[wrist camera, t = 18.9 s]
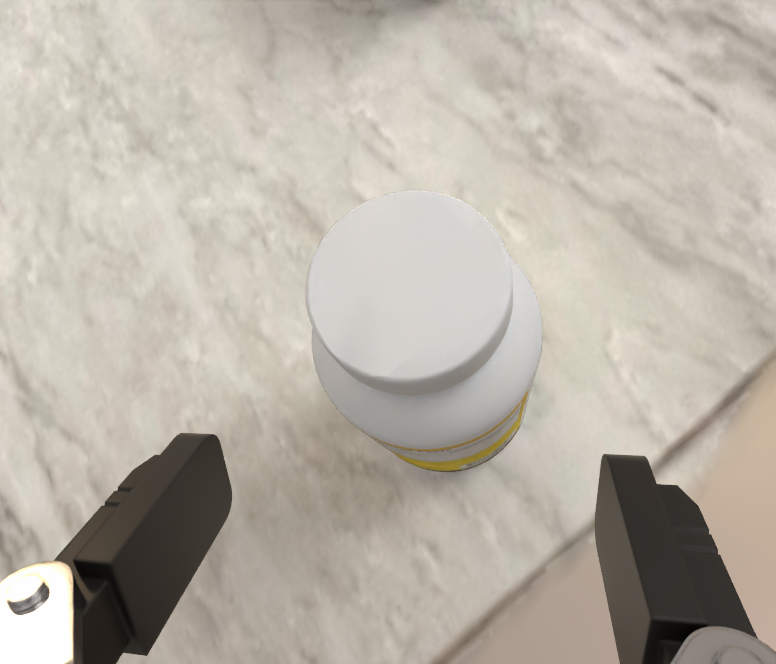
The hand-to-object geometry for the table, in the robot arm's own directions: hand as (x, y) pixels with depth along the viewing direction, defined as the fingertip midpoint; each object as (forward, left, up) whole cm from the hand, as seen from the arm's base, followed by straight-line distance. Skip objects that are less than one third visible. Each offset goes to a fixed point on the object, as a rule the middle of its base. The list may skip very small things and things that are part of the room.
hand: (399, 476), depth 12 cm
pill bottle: (+2, -4, -11) cm, 12 cm away
